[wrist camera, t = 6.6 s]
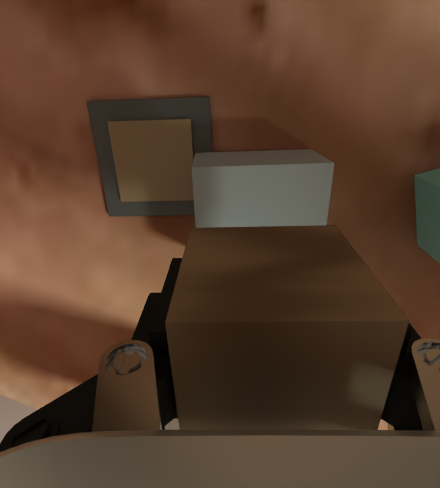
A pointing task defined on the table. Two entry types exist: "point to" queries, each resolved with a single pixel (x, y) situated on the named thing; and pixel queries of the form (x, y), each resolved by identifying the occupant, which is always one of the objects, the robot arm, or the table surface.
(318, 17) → the table surface
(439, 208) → the teal cube
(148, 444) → the robot arm
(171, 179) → the swatch
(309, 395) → the walnut cube
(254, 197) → the grey base block
